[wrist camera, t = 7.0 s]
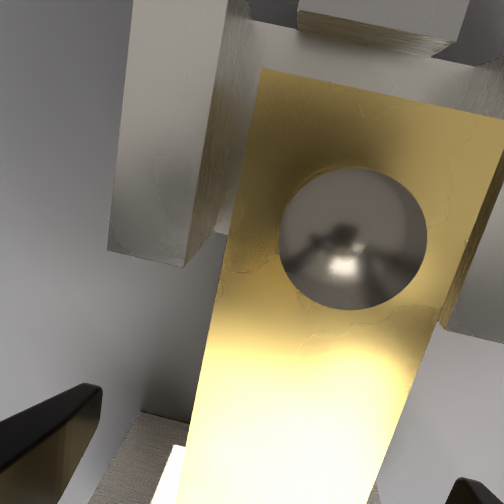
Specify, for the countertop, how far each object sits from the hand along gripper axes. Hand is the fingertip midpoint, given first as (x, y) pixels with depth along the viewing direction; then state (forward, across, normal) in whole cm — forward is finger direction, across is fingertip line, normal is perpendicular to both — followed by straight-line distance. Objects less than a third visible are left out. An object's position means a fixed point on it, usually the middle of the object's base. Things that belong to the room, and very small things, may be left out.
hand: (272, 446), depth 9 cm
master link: (+3, 0, 0) cm, 3 cm away
